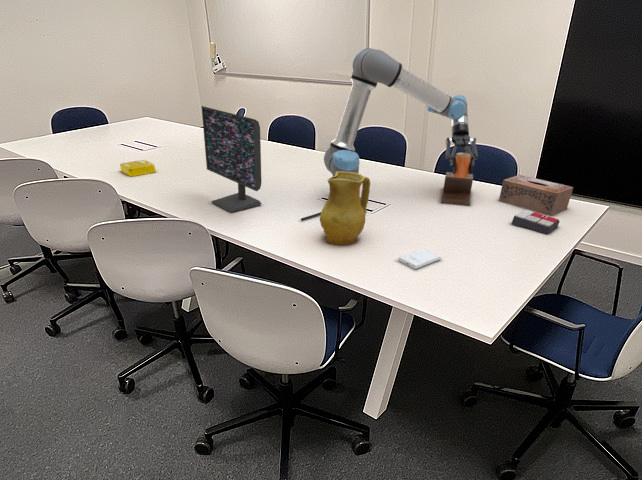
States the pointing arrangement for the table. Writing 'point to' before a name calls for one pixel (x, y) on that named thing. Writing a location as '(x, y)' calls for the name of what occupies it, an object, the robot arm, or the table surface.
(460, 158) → the canister
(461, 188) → the brown wooden step stand
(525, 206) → the tissue box cover
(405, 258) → the hard drive
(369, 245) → the table surface
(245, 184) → the computer monitor
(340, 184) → the pitcher
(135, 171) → the element tile
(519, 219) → the grey and red box
